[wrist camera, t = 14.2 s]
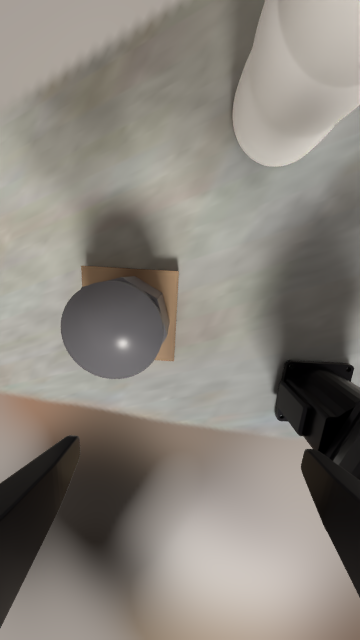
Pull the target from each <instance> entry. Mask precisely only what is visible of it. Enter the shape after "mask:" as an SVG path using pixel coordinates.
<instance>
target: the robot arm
mask: <svg viewBox="0 0 360 640" xmlns="http://www.w3.org/2000/svg"><path fill="white" fill-rule="evenodd" d="M290 365H292V366H291V367H289V366H290ZM347 368H348V369H347ZM346 369H347V370H346ZM353 371H354V367H353V366H352V365H350V364H348V363H334V362H314V361H295V360H289V361H287V362H286V363H285V365H284V370H283V375H282V381H281V382H280V385H279V390H278V395H277V401H276V405H277V408H276V413H275V416H276V417H277V419H278V420H279V421H289V423H290V424H291V426H292V427H293V428H294V430H295V431H296V432H297V434H298V435H299V436H304V438H305V439H306V440H307V442H308V443H309V444H310V446H311V447H312V448H313V449H306V450H305V451H304V455H303V459H302V464H301V470H302V473H303V476H304V478H305V481H306V483H307V486H308V488H309V491H310V493H311V496H312V498H313V501H314V503H315V505H316V508H317V511H318V513H319V515H320V518H321V520H322V523H323V525H324V527H325V529H326V531H327V532H328V534H329V536H330V538H331V540H332V542H333V544H334V546H335V548H336V550H337V552H338V554H339V556H340V558H341V560H342V562H343V565H344V567H345V569H346V570H347V573H348V574H349V577H350V579H351V580H352V583H353V585H354V587H355V589H356V590H357V593H358V594H359V597H360V388H359V387H358V386H356V385H355V384H353V383H352V382H351V378H352V375H353ZM280 415H282V416H280ZM79 458H80V439H79V437H78V436H71V435H70V436H67V437H65V438H64V439H62V440H61V441H59V442H58V443H57V444H55V445H54V446H52V447H51V448H50V449H48V450H47V451H45V452H44V453H43V454H41V455H40V456H38V457H37V458H35V459H34V460H33V461H31V462H30V463H28V464H27V465H26V466H24V467H23V468H21V469H20V470H19V471H17V472H16V473H14V474H13V475H11V476H10V477H9V478H7V479H6V480H4V481H3V482H2V483H0V628H1V626H2V624H3V622H4V620H5V618H6V616H7V614H8V612H9V609H10V608H11V606H12V604H13V602H14V600H15V598H16V596H17V594H18V592H19V589H20V587H21V585H22V583H23V581H24V579H25V577H26V575H27V573H28V571H29V569H30V567H31V565H32V563H33V561H34V559H35V557H36V555H37V553H38V551H39V549H40V547H41V545H42V543H43V541H44V539H45V537H46V535H47V533H48V531H49V529H50V527H51V525H52V523H53V521H54V519H55V517H56V515H57V512H58V510H59V508H60V506H61V504H62V501H63V499H64V497H65V494H66V491H67V489H68V486H69V484H70V481H71V478H72V476H73V474H74V471H75V468H76V466H77V463H78V461H79Z"/></svg>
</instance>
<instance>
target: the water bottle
mask: <svg viewBox="0 0 360 640" xmlns="http://www.w3.org/2000/svg"><path fill="white" fill-rule="evenodd" d="M359 105H360V0H265V3H264V6H263V9H262V12H261V15H260V19H259V22H258V26H257V30H256V34H255V39H254V43H253V48H252V50H251V52H250V54H249V57H248V59H247V61H246V64H245V66H244V69H243V72H242V75H241V78H240V81H239V84H238V87H237V90H236V94H235V98H234V103H233V115H232V118H233V128H234V132H235V135H236V138H237V141H238V143H239V145H240V147H241V148H242V150H243V151H244V152H245V153H246V154H247V155H248V156H249V157H250V158H251V159H252V160H254V161H255V162H257V163H259V164H262V165H265V166H270V167H280V166H285V165H289V164H291V163H293V162H296V161H297V160H299V159H301V158H302V157H304V156H305V155H306V154H307V153H309V152H310V151H311V150H312V149H313V148H314V147H315V146H316V145H317V144H318V143H319V142H320V141H321V140H322V139H323V138H324V137H325V136H326V135H327V134H328V133H329V132H330V131H331V130H332V129H333V127H334V126H335V125H336V124H337V123H338V122H339V121H340V120H341V119H343V118H344V117H346V116H347V115H348V114H349V113H351V112H352V111H353V110H354V109H355V108H357V107H358V106H359Z"/></svg>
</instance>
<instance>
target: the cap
mask: <svg viewBox="0 0 360 640" xmlns="http://www.w3.org/2000/svg"><path fill="white" fill-rule="evenodd" d="M169 323H170V321H169V317H168V313H167V309H166V306H165V302H164V298H163V294H162V292H160V291H159V290H157V289H155V288H154V287H152V286H150V285H149V284H147V283H145V282H144V281H142V280H140V279H139V278H137V277H135V276H129V277H120V278H116V279H112V280H108V281H103V282H97V283H93V284H90V285H88V286H84V287H82V288H81V290H79V291H78V292H77V293H75V294H74V295H73V296H72V298H71V299H70V300H69V301H68V303H67V305H66V306H65V309H64V311H63V314H62V318H61V334H62V339H63V342H64V345H65V347H66V349H67V351H68V353H69V354H70V356H71V357H72V358H73V360H74V361H75V362H76V363H77V364H78V365H79V366H81V367H82V368H83V369H85V370H86V371H88V372H90V373H92V374H94V375H97V376H100V377H103V378H109V379H122V378H127V377H131V376H134V375H136V374H138V373H140V372H142V371H143V370H145V369H146V368H147V367H148V366H149V365H150V364H151V363H152V362H153V361H154V359H155V358H156V356H157V354H158V353H159V350H160V347H161V345H162V344H163V342H164V341H165V339H166V337H167V334H168V329H169Z"/></svg>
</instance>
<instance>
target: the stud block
mask: <svg viewBox="0 0 360 640" xmlns="http://www.w3.org/2000/svg"><path fill="white" fill-rule="evenodd" d="M81 270H82V287H84V286H88V285H90V284H93V283H97V282H103V281H108V280H112V279H116V278H120V277H129V276H135V277H137V278H139V279H140V280H142V281H144V282H145V283H147V284H149V285H150V286H152V287H154V288H155V289H157V290H159V291H160V292H162V294H163V298H164V302H165V306H166V309H167V313H168V317H169V321H170V323H169V329H168V334H167V337H166V339H165V341H164V342H163V344H162V345H161V347H160V350H159V353H158V354H157V356H156V358H155V359H154V360H162V361H174V350H175V331H176V313H177V294H178V275H179V271H164V270H147V269H130V268H112V267H95V266H81Z"/></svg>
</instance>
